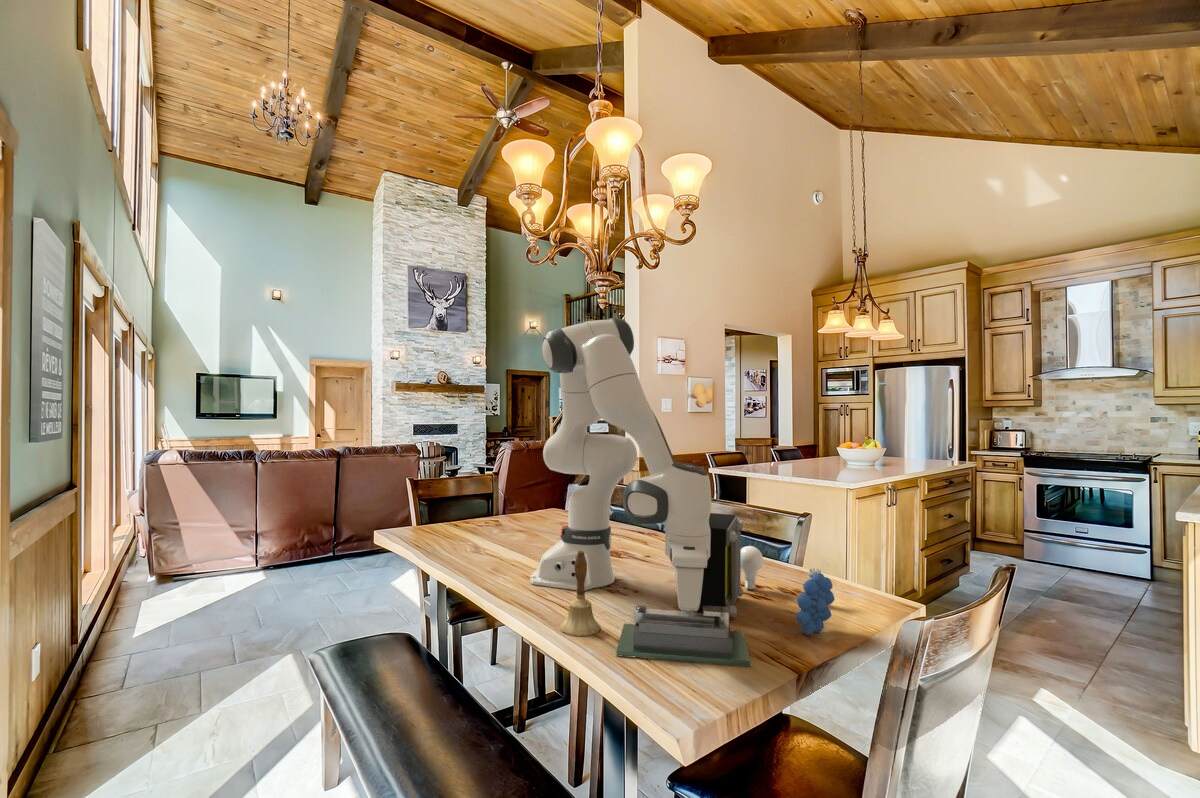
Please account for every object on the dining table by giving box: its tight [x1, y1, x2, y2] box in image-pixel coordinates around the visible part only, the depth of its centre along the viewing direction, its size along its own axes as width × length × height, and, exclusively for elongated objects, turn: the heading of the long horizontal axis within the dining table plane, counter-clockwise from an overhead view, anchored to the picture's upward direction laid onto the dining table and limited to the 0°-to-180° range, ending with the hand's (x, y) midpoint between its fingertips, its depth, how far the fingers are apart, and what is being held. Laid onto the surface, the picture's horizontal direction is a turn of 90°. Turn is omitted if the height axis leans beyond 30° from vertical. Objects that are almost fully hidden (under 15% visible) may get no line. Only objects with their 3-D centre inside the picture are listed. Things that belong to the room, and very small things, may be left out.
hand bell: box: [559, 551, 601, 637], centre depth 113 cm, size 8×8×16 cm
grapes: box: [795, 573, 836, 636], centre depth 113 cm, size 12×7×12 cm, turn 127°
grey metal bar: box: [632, 605, 714, 624], centre depth 105 cm, size 16×2×3 cm, turn 79°
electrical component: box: [696, 512, 744, 618], centre depth 127 cm, size 18×10×20 cm, turn 160°
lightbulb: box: [741, 545, 764, 591], centre depth 139 cm, size 6×6×11 cm
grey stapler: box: [615, 605, 751, 668], centre depth 105 cm, size 24×13×8 cm, turn 81°
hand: (686, 616), depth 107 cm, fingers closed
